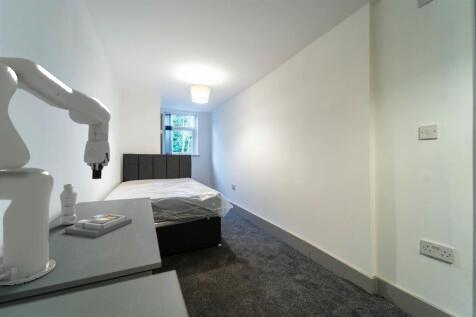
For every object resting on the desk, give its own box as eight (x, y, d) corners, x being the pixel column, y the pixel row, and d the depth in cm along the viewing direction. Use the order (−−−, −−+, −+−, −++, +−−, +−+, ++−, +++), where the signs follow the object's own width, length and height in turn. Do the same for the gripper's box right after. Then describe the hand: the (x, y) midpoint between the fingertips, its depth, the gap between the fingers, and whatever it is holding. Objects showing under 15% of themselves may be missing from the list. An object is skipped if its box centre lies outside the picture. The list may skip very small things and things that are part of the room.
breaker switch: (102, 223, 93) (102, 220, 93) (93, 222, 95) (94, 218, 95) (116, 220, 101) (117, 217, 101) (108, 219, 102) (108, 216, 102)
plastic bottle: (62, 223, 103) (62, 184, 102) (78, 221, 105) (78, 183, 105) (57, 227, 97) (57, 185, 96) (74, 225, 100) (74, 185, 99)
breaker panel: (96, 237, 87) (96, 227, 87) (64, 232, 91) (64, 223, 91) (131, 222, 106) (131, 214, 106) (104, 218, 111) (104, 211, 110)
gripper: (77, 137, 90) (75, 178, 89) (104, 137, 86) (102, 180, 85) (93, 139, 97) (91, 177, 96) (118, 139, 93) (117, 179, 93)
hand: (96, 178), depth 91 cm, fingers closed
